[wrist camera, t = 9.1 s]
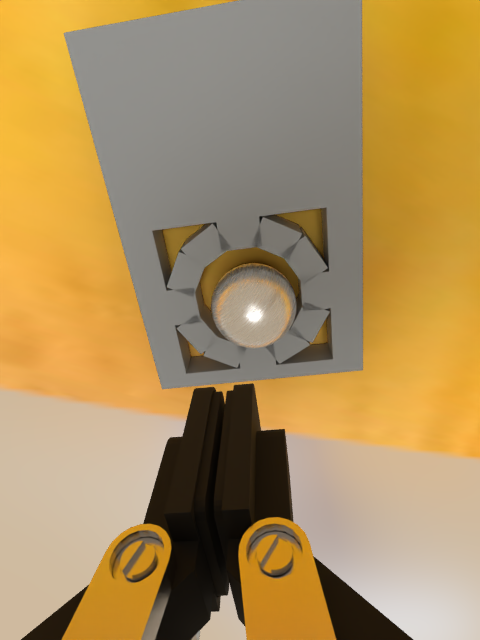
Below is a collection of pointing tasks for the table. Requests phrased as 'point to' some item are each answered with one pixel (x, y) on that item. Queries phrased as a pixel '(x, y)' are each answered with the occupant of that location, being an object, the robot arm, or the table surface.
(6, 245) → the table surface
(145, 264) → the hole board
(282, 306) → the steel ball
